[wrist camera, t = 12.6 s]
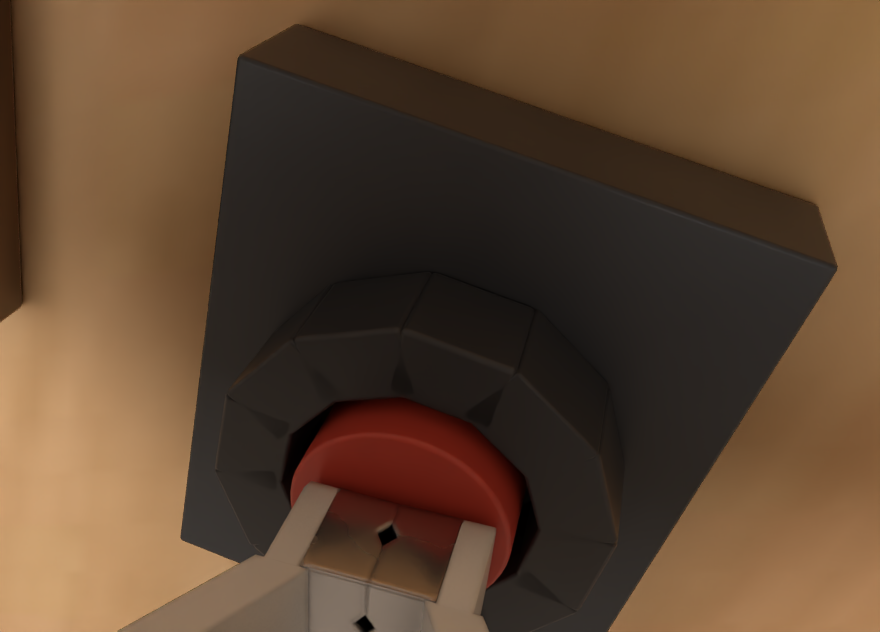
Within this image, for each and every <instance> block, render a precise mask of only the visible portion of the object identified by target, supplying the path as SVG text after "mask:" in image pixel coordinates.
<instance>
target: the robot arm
mask: <svg viewBox="0 0 880 632" xmlns="http://www.w3.org/2000/svg"><path fill="white" fill-rule="evenodd" d="M495 536H496V528H495V527H491V526H487V525H483V524H479V523H475V522H471V521H467V520H463V519H459V518H455V517H451V516H447V515H443V514H439V513H434V512H430V511H426V510H422V509H418V508H414V507H410V506H405V505H399V504H395V503H392V502H388V501H384V500H381V499H377V498H374V497H370V496H367V495H363V494H359V493H356V492H352V491H349V490H345V489H340V488H336V487H332V486H329V485H325V484H322V483H318V482H314V481H310V482H309V483H308V484H307V485H306V486H305V487H304V488H303V490H302V492H301V493H300V495H299V497H298V499H297V500H296V502H295V504H294V506H293V507H292V509H291V511H290V513H289V514H288V516H287V518H286V520H285V521H284V523H283V525H282V527H281V528H280V530H279V532H278V534H277V535H276V537H275V539H274V541H273V542H272V544H271V546H270V548H269V549H268V551H267V553H266V555H265V556H264V557H263V556H259V555H254V556H252V557H250V558H248V559H246V560H245V561H243V562H241V563H239V564H237V565H236V566H234V567H232V568H230V569H228V570H227V571H225V572H223V573H221V574H219V575H218V576H216V577H214V578H212V579H210V580H209V581H207V582H205V583H203V584H201V585H199V586H198V587H196V588H194V589H192V590H190V591H189V592H187V593H185V594H183V595H181V596H180V597H178V598H176V599H174V600H172V601H171V602H169V603H167V604H165V605H163V606H162V607H160V608H158V609H156V610H154V611H152V612H151V613H149V614H147V615H145V616H143V617H142V618H140V619H138V620H136V621H134V622H133V623H131V624H129V625H127V626H125V627H124V628H122V629H120V630H118V632H489V630H488V628H487V625H486V623H485V620H484V618H483V616H480V615H481V610H482V605H483V600H484V596H485V591H486V586H487V581H488V575H489V570H490V564H491V559H492V553H493V548H494V542H495Z"/></svg>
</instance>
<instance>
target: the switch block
mask: <svg viewBox="0 0 880 632" xmlns="http://www.w3.org/2000/svg"><path fill="white" fill-rule="evenodd" d="M837 267H838V266H837V263H836V260H835V257H834V254H833V251H832V248H831V245H830V242H829V239H828V236H827V233H826V230H825V227H824V224H823V221H822V218H821V215H820V212H819V209H818V207H817V206H816V205H814V204H811V203H808V202H806V201H803V200H800V199H797V198H794V197H791V196H788V195H785V194H783V193H780V192H777V191H774V190H771V189H768V188H765V187H763V186H760V185H757V184H754V183H751V182H748V181H745V180H743V179H740V178H737V177H734V176H731V175H728V174H725V173H723V172H720V171H717V170H714V169H711V168H708V167H705V166H703V165H700V164H697V163H694V162H691V161H688V160H685V159H683V158H680V157H677V156H674V155H671V154H668V153H665V152H662V151H660V150H657V149H654V148H651V147H648V146H645V145H642V144H640V143H637V142H634V141H631V140H628V139H625V138H622V137H620V136H617V135H614V134H611V133H608V132H605V131H602V130H600V129H597V128H594V127H591V126H588V125H585V124H582V123H580V122H577V121H574V120H571V119H568V118H565V117H562V116H560V115H557V114H554V113H551V112H548V111H545V110H542V109H539V108H537V107H534V106H531V105H528V104H525V103H522V102H519V101H517V100H514V99H511V98H508V97H505V96H502V95H499V94H497V93H494V92H491V91H488V90H485V89H482V88H479V87H477V86H474V85H471V84H468V83H465V82H462V81H459V80H457V79H454V78H451V77H448V76H445V75H442V74H439V73H437V72H434V71H431V70H428V69H425V68H422V67H419V66H416V65H414V64H411V63H408V62H405V61H402V60H399V59H396V58H394V57H391V56H388V55H385V54H382V53H379V52H376V51H374V50H371V49H368V48H365V47H362V46H359V45H356V44H354V43H351V42H348V41H345V40H342V39H339V38H336V37H334V36H331V35H328V34H325V33H322V32H319V31H316V30H314V29H311V28H308V27H305V26H302V25H299V24H295V25H293V26H291V27H290V28H288V29H286V30H284V31H282V32H280V33H279V34H277V35H275V36H273V37H271V38H270V39H268V40H266V41H264V42H262V43H260V44H259V45H257V46H255V47H253V48H251V49H250V50H248V51H246V52H244V53H242V54H240V55H239V57H238V60H237V69H236V77H235V85H234V94H233V102H232V111H231V119H230V127H229V136H228V144H227V152H226V161H225V169H224V178H223V186H222V194H221V203H220V211H219V219H218V228H217V236H216V245H215V253H214V261H213V270H212V278H211V286H210V295H209V303H208V312H207V320H206V328H205V337H204V345H203V353H202V362H201V370H200V378H199V387H198V395H197V404H196V412H195V420H194V429H193V437H192V445H191V454H190V462H189V471H188V479H187V487H186V496H185V504H184V512H183V521H182V529H181V539H182V540H183V541H185V542H188V543H190V544H193V545H196V546H198V547H201V548H203V549H206V550H208V551H211V552H213V553H216V554H218V555H221V556H223V557H226V558H228V559H231V560H233V561H236V562H238V563H241V562H243V561H245V560H246V559H248V558H250V557H252V556H254V555H259V556H263V557H264V556H265V555H266V553H267V551H268V549H269V548H270V546H271V544H272V542H273V541H274V539H275V537H276V535H277V534H278V532H279V530H280V528H281V527H282V525H283V523H284V521H285V520H286V518H287V516H288V514H289V513H290V511H291V509H292V508H291V496H290V491H291V484H292V479H293V476H294V473H295V470H296V469H297V467H298V465H299V463H300V461H301V460H302V458H303V456H304V455H305V453H306V451H307V450H308V448H309V446H310V444H311V443H312V441H313V439H314V438H315V436H316V434H317V433H318V431H319V429H320V428H321V426H322V424H323V423H324V421H325V419H326V417H327V416H328V414H329V412H330V411H331V409H332V407H333V406H334V404H335V402H343V401H358V400H374V399H389V398H405V399H408V400H410V401H413V402H416V403H418V404H421V405H424V406H426V407H429V408H432V409H434V410H437V411H439V412H442V413H445V414H447V415H450V416H453V417H455V418H458V419H461V420H463V421H466V422H469V423H471V424H472V425H473V426H474V427H475V428H476V429H477V430H478V431H479V432H480V433H481V434H482V435H483V436H484V437H485V438H486V439H487V440H488V441H490V442H491V443H492V444H493V445H494V446H495V447H496V448H497V449H498V450H499V451H500V452H501V453H502V454H503V455H504V456H505V457H506V458H507V459H508V460H509V461H510V462H511V463H512V464H513V465H514V466H515V467H516V468H517V469H518V470H519V471H520V472H521V473H522V474H523V475H524V477H525V480H526V484H527V487H526V492H525V496H524V500H523V504H522V508H521V513H520V517H519V521H518V525H517V530H516V534H515V538H514V542H513V546H512V551H511V555H510V558H509V560H508V563H507V565H506V567H505V569H504V570H503V572H502V574H501V575H500V576H499V577H498V578H497V579H496V581H495V582H494V583H493V584H492V585H490V586H489V587H488V588H487V589H486V591H485V596H484V600H483V605H482V610H481V615H480V616H483V618H484V620H485V623H486V625H487V628H488V630H489V632H607V631H608V630H609V628H610V627H611V625H612V624H613V622H614V620H615V619H616V617H617V616H618V614H619V613H620V611H621V609H622V608H623V606H624V605H625V603H626V602H627V600H628V598H629V597H630V595H631V594H632V592H633V591H634V589H635V587H636V586H637V584H638V583H639V581H640V579H641V578H642V576H643V575H644V573H645V572H646V570H647V568H648V567H649V565H650V564H651V562H652V561H653V559H654V557H655V556H656V554H657V553H658V551H659V550H660V548H661V546H662V545H663V543H664V542H665V540H666V539H667V537H668V535H669V534H670V532H671V531H672V529H673V528H674V526H675V524H676V523H677V521H678V520H679V518H680V517H681V515H682V513H683V512H684V510H685V509H686V507H687V506H688V504H689V502H690V501H691V499H692V498H693V496H694V495H695V493H696V491H697V490H698V488H699V487H700V485H701V484H702V482H703V480H704V479H705V477H706V476H707V474H708V473H709V471H710V469H711V468H712V466H713V465H714V463H715V462H716V460H717V458H718V457H719V455H720V454H721V452H722V451H723V449H724V447H725V446H726V444H727V443H728V441H729V440H730V438H731V436H732V435H733V433H734V432H735V430H736V429H737V427H738V425H739V424H740V422H741V421H742V419H743V418H744V416H745V414H746V413H747V411H748V410H749V408H750V407H751V405H752V403H753V402H754V400H755V399H756V397H757V396H758V394H759V392H760V391H761V389H762V388H763V386H764V384H765V383H766V381H767V380H768V378H769V377H770V375H771V373H772V372H773V370H774V369H775V367H776V366H777V364H778V362H779V361H780V359H781V358H782V356H783V355H784V353H785V351H786V350H787V348H788V347H789V345H790V344H791V342H792V340H793V339H794V337H795V336H796V334H797V333H798V331H799V329H800V328H801V326H802V325H803V323H804V322H805V320H806V318H807V317H808V315H809V314H810V312H811V311H812V309H813V307H814V306H815V304H816V303H817V301H818V300H819V298H820V296H821V295H822V293H823V292H824V290H825V289H826V287H827V285H828V284H829V282H830V281H831V279H832V278H833V276H834V274H835V273H836V271H837Z"/></svg>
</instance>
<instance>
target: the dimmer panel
mask: <svg viewBox="0 0 880 632" xmlns="http://www.w3.org/2000/svg"><path fill="white" fill-rule="evenodd" d="M21 305H22V288H21V262H20V237H19V211H18V186H17V160H16V134H15V109H14V83H13V57H12V32H11V6H10V0H0V322H1V321H3V320H4V319H6V318H7V317H8V316H10V315H11V314H12V313H14V312H15V311H16V310H18V309H19V308H20V307H21Z"/></svg>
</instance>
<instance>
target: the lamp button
mask: <svg viewBox="0 0 880 632" xmlns="http://www.w3.org/2000/svg"><path fill="white" fill-rule="evenodd" d="M310 481H314V482H318V483H322V484H325V485H329V486H332V487H336V488H340V489H345V490H349V491H352V492H356V493H359V494H363V495H367V496H370V497H374V498H377V499H381V500H384V501H388V502H392V503H395V504H399V505H405V506H410V507H414V508H418V509H422V510H426V511H430V512H434V513H439V514H443V515H447V516H451V517H455V518H459V519H463V520H467V521H471V522H475V523H479V524H483V525H487V526H491V527H495V528H496V536H495V542H494V548H493V553H492V559H491V564H490V570H489V575H488V581H487V586H486V589H487V588H488V587H489V586H490V585H492V584H493V583H494V582H495V581H496V579H497V578H498V577H499V576H500V575H501V574H502V572H503V570H504V569H505V567H506V565H507V563H508V560H509V558H510V555H511V551H512V546H513V542H514V538H515V534H516V530H517V525H518V521H519V517H520V513H521V508H522V504H523V500H524V496H525V492H526V487H527V484H526V480H525V477H524V475H523V474H522V473H521V472H520V471H519V470H518V469H517V468H516V467H515V466H514V465H513V464H512V463H511V462H510V461H509V460H508V459H507V458H506V457H505V456H504V455H503V454H502V453H501V452H500V451H499V450H498V449H497V448H496V447H495V446H494V445H493V444H492V443H491V442H490V441H488V440H487V439H486V438H485V437H484V436H483V435H482V434H481V433H480V432H479V431H478V430H477V429H476V428H475V427H474V426H473V425H472V424H471V423H469V422H466V421H463V420H461V419H458V418H455V417H453V416H450V415H447V414H445V413H442V412H439V411H437V410H434V409H432V408H429V407H426V406H424V405H421V404H418V403H416V402H413V401H410V400H408V399H405V398H389V399H374V400H358V401H343V402H335V404H334V406H333V407H332V409H331V411H330V412H329V414H328V416H327V417H326V419H325V421H324V423H323V424H322V426H321V428H320V429H319V431H318V433H317V434H316V436H315V438H314V439H313V441H312V443H311V444H310V446H309V448H308V450H307V451H306V453H305V455H304V456H303V458H302V460H301V461H300V463H299V465H298V467H297V469H296V470H295V473H294V476H293V479H292V484H291V491H290V496H291V508H292V507H293V506H294V504H295V502H296V500H297V499H298V497H299V495H300V493H301V492H302V490H303V488H304V487H305V486H306V485H307V484H308V483H309V482H310Z"/></svg>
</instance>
